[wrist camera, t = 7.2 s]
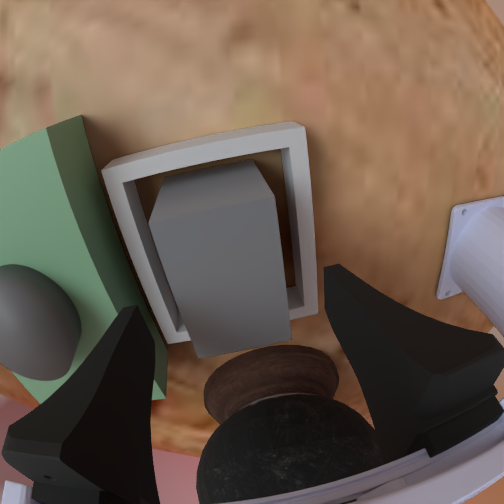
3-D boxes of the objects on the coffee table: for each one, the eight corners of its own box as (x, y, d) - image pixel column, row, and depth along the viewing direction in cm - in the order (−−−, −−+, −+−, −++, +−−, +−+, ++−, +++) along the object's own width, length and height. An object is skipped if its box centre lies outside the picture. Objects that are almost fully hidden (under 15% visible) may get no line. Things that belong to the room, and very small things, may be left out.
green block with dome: (285, 68, 13) (333, 63, 8) (310, 323, 22) (338, 392, 16) (-46, 176, 12) (-107, 219, 7) (54, 365, 21) (35, 427, 16)
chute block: (251, 158, 16) (274, 196, 11) (269, 273, 19) (292, 339, 14) (164, 177, 15) (148, 223, 11) (196, 288, 19) (198, 358, 14)
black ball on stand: (360, 391, 28) (416, 525, 15) (239, 439, 29) (262, 571, 16) (320, 306, 21) (413, 522, 8) (157, 378, 23) (158, 571, 10)
